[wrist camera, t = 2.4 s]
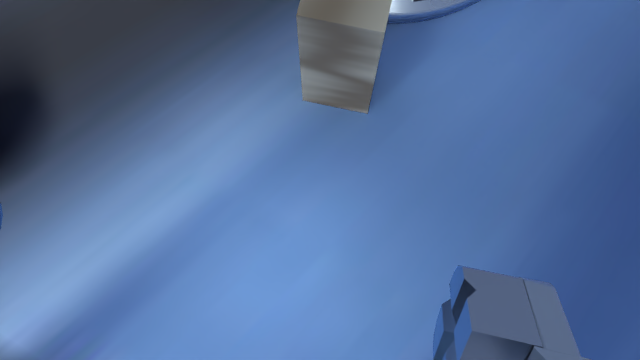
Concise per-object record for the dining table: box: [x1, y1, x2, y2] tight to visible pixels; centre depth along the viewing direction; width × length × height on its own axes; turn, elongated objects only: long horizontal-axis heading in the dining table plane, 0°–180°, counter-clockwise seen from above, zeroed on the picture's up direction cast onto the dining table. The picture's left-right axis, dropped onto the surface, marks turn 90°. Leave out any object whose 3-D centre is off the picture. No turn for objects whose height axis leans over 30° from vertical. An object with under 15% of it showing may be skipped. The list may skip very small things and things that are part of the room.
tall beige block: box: [296, 0, 392, 114], centre depth 28 cm, size 4×3×9 cm
